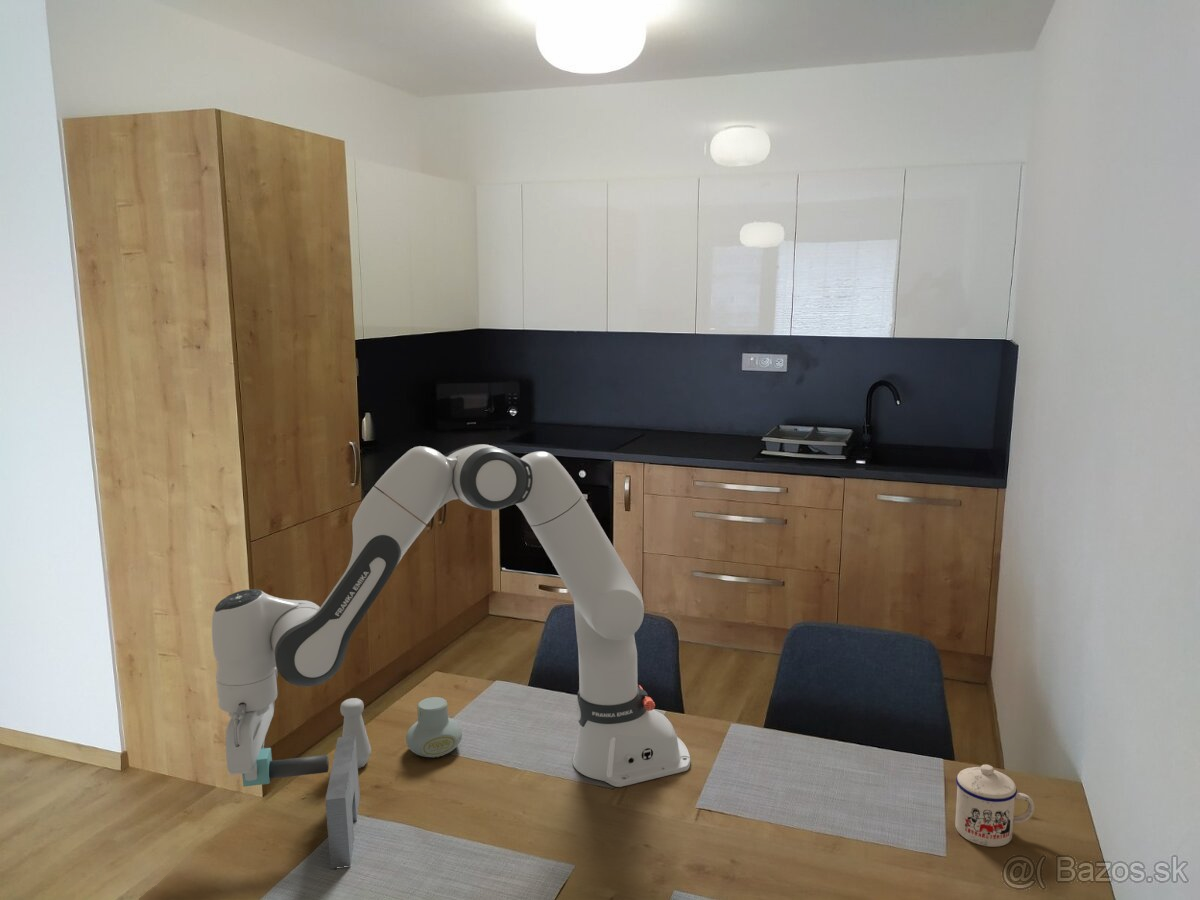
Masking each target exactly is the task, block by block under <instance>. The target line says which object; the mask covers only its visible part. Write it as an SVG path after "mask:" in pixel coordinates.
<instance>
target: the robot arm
mask: <svg viewBox="0 0 1200 900" xmlns="http://www.w3.org/2000/svg"><path fill="white" fill-rule="evenodd" d="M453 500H454V501H455V500H458V501H462V502H463V503H464V504H466V505H468V506H469V507H473V508H478V509H479V510H480V509H481V510H483V511H497V510H502V509H505V508H507V507H510V506H513V505H516V506H517V507H518V509H519V510H520V511H521V513H522V514H523V516H524V518H525V520H526V522H527V523H528V525H529V526H530V528H531V529H532V531H533V533H534V535H535V536H536V538H537V539H538V541H539V543H540V544H541V546H542V547H543V548H542V549H544V551H545V553H546V555H547V557H548V558H549V560H550V561H551V563H552V565H553V566H554V568H555V570H556V572H557V574H558V575H559V577H560V578H561V581H562V582H563V584H564V586H565V587H566V589H567V591H568V593H569V594H570V596H571V598H572V599H573V609H574V619H575V621H574V622H575V631H576V642H577V649H578V650H577V651H578V653H577V654H578V675H579V676H578V677H579V678H578V679H579V681H578V684H579V685H578V687H579V689H578V691H577V695H576V696H577V698H576V699H577V700H576V713H577V714H576V717H577V720H578V721H577V722H578V732H577V740H576V746H575V750H574V755H573V757H572V765H573V767H574V768H575V770H576V771H577V772H579V773H580V774H581V775H584V776H585V777H588V778H590V779H594V780H598V781H603V782H605V783H608V784H609V785H611V786H613V787H617V788H622V787H626V786H630V785H634V784H638V783H642V782H646V781H651V780H654V779H658V778H663V777H666V776H670V775H671V776H672V775H675V774H678V773H679V774H680V773H683V772H686V771H688V770H689V768H690V767H691V755H690V751H689V750H688V748H687V745H686V744H685V743H684V742H683V741H682V739H681V738H680V737H678V736H677V732H676V731H675V728H674V726H673V724H672V723H671V721H670V720H669V719H668V718H667V717H666V716H665V715H664V714H662V713H661V712H659V711H657V710H655V708H656V704H655V702H654V700H653V698H652V697H650V696H649V695H648V693H647V691H646V690H645V689H643V687H642V686H641V684H638V651H637V650H638V649H637V644H636V640H635V639H636V638H635V634H636V632H637V631H638V630H639V628H640V627H641V626H642V623H643V620H644V618H645V617H644V614H645V609H644V606H645V605H644V602H643V595H642V594H641V591H640V589H639V588H638V586H637V584H636V582H635V581H634V579H633V578H632V575H631V574H630V572H629V571H628V569H627V567H626V566H625V564H624V563H623V560H622V559H621V557H620V556H619V554H618V552H617V551H616V549H615V547H614V546H613V543H612V542H611V540H610V539H609V538H608V536H607V534H606V532H605V530H604V529H603V527H602V526H601V523H600V522H599V520H598V519H597V517H596V515H595V512H593V510H592V508H591V507H590V505H589V503H588V502H587V499H586V497H584V494H583V493H582V491H581V490H580V488H579V486H578V485H577V483H576V482H575V480H574V479H573V478H572V476H571V474H569V471H567V470H566V468H565V467H564V466H563V465H562V464H561V462H560V461H559V460H558V459H557V458H556V457H555V456H554V455H553V454H552V453H550V452H547V451H543V450H541V451H540V450H539V451H533V452H529V453H528V454H525V455H523V456H522V457H518V456H516V455H514V454H513V453H511V452H509V451H508V450H505V449H503V448H498V447H497V446H494V445H491V444H490V445H489V444H483V443H482V444H469V445H468V444H467V445H464V446H460V447H459V448H456V449H454V450H452V451H450V452H447V453H444V454H442V453H441V452H440V451H439V450H436V449H434V448H432V447H428V446H425V445H424V446H421V445H419V446H414V447H413V448H410V449H409V450H407V451H406V452H405V453H404V454H403V455H402V456H401V457H399V458H398V459H397V460H396V461H395V462H394V463H392V465H391V466H390V467H389V468H388V469H387V470H386V471H385V472H384V474H382V475H381V476H380V478H379V479H378V480H377V481H376V482H375V484H374V486H372V488H371V489H370V490H369V491H368V493H366V495H365V497H364V498H363V499H362V501H361V502H360V505H359V506H358V508H357V510H356V512H355V514H354V516H353V518H352V523H351V524H352V525H351V526H352V527H351V530H352V551H351V556H350V559H349V563H348V564H347V568H346V569H345V571H344V573H343V574H342V575H341V577H340V578H339V580H338V581H337V583H336V584H335V585H334V587H333V589H332V590H331V591H330V593H329V594H328V595H327V597H326V599H325V600H324V601H323V603H322V604H321V606H320V605H319V604H317V603H315V602H314V601H310V600H307V599H287V598H280V597H276V596H273V595H271V594H268V593H266V592H264V591H263V590H261V589H257V588H256V589H254V588H253V589H243V590H240V591H237V592H234V593H231V594H229V595H227V596H226V597H224V598H223V599H221V600H220V601H219V602H218V603H217V604H216V606H215V607H214V609H213V614H212V617H211V618H212V619H211V621H212V622H211V637H212V638H211V639H212V640H211V641H212V650H213V655H214V658H215V661H216V662H217V667H216V668H217V670H216V674H215V681H216V689H217V690H216V691H217V700H218V708H219V709H220V710H221V711H223V712H226V713H227V715H228V716H229V717H230V719H229V721H228V723H227V725H226V730H225V753H226V755H225V757H226V768H227V772H228V773H229V774H230V775H242V774H243V773H245V779H246V780H247V781H251V780H256V779H257V776H258V765H257V764H256V760H257V758H258V755H259V752H260V750H261V749H263V748H265V747H264V746H265V738H266V736H267V733H268V731H269V728H270V724H271V722H272V719H273V717H274V712H275V701H276V700H277V698H278V686H277V685H278V683H277V679H278V674H279V675H280V676H281V678H283V679H284V681H286V682H288V683H290V685H293V686H298V687H305V688H306V687H314V686H317V685H321V684H323V683H326V682H327V681H328V680H330V679H332V678H333V677H334V676H335V674H336V673H338V671H339V670H340V669H341V667H342V665H343V662H344V660H345V657H346V654H347V649H348V645H349V643H350V640H351V638H352V636H353V633H354V632H355V630H356V628H358V625H359V624H360V623H361V621H362V619H363V618H364V616H365V615H366V614H367V612H368V610H369V609H370V608H371V606H372V605H373V603H374V601H376V598H378V596H379V594H380V593H381V591H382V590H383V588H384V587H385V585H387V584H386V583H388V581H389V579H390V577H391V576H392V574H393V572H394V570H395V568H396V567H397V566H398V564H399V563H400V562H401V560H402V559H403V557H404V555H405V554H406V553H407V552H408V549H410V547H411V546H412V544H413V543H414V542H415V541H416V539H417V538H418V537H419V535H420V534H421V533H422V532H423V530H424V529H425V528H426V526H427V525H428V524H429V523H430V521H431V519H433V517H434V516H435V514H436V512H438V510H440V509H441V508H442V507H443V506H444V505H445V504H447V503H448V502H450V501H453Z"/></svg>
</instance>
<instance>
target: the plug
mask: <svg viewBox="0 0 1200 900" xmlns="http://www.w3.org/2000/svg"><path fill="white" fill-rule="evenodd" d="M272 756H273V754H272V747H264V748H263V749H261V750H260V752H259V755H258V758H257V760H256V764H257V765H258V776H257V779H256V780H251V781H247V780H246V779H245V773H243V774H241V777H242V778H241V779H242V787H244V788H245V787H252V786H253V787H254V786H260V785H268V784H270V782H271V780H273V779H275V780H276V779H281V778H282V779H283V778H291V777H299V776H308V775H315V774H323V773H326V774H327V773H329V765H330V764H329V763H330V761H329V755H328V754H322V755H321V754H320V755H312V756H310V755H309V756H303V757H294V758H286V759H276V760H273V757H272Z"/></svg>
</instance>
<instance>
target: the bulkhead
mask: <svg viewBox="0 0 1200 900" xmlns="http://www.w3.org/2000/svg"><path fill="white" fill-rule="evenodd" d="M359 780H360V779H359V768H358V765H357V752H356V738H355V736H347V737H342V736H338V737H337V741H336V744H335V751H334V755H333V760H332V765H331V770H330V775H329V780H328V785H327V789H326V794H325V801H324V803H325V813H326V814H325V815H326V826H327V839H328V851H329V862H330V864H329V865H330V869H331V868H337V867H344V866H350V865H351V866H352V860H351V857H353V852H352V850H353V851H354V845H353V843H355V833H354V832H355V830H354V822H357V821H358V815H359V814H358V813H359V806H360V805H359V804H360V798H361V796H360V793H361V792H360V781H359Z"/></svg>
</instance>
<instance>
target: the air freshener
mask: <svg viewBox="0 0 1200 900" xmlns="http://www.w3.org/2000/svg"><path fill="white" fill-rule="evenodd" d="M416 708H417V721H416V722H414V723H413V724H412V725H411V726H410V727H409V729H408V731H406V732H407V733H406V736H405V743H406V745H407V747H408V749H409V750H410V751H411V752H412V753H413V754H415V755H418V756H419V757H425V758H433V759H435V757H437V758H440V756H441V757H443V756H445V755H447V754H449V753H451V752H452V751H454V750H455V749H456V748H457V747H458V746H459V745H460V743H461V741H462V740H463V739H462V738H463V731H462V729H463V728H462V727H461V725H460V724H459V723H458V721H456V720H455V719H453V718H452V717H449V707H448V701H447V700H446V699H444V698H443V697H438V696H431V697H426V698H424V699H422V700H420V701H419V702H418V703H417V705H416Z"/></svg>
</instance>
